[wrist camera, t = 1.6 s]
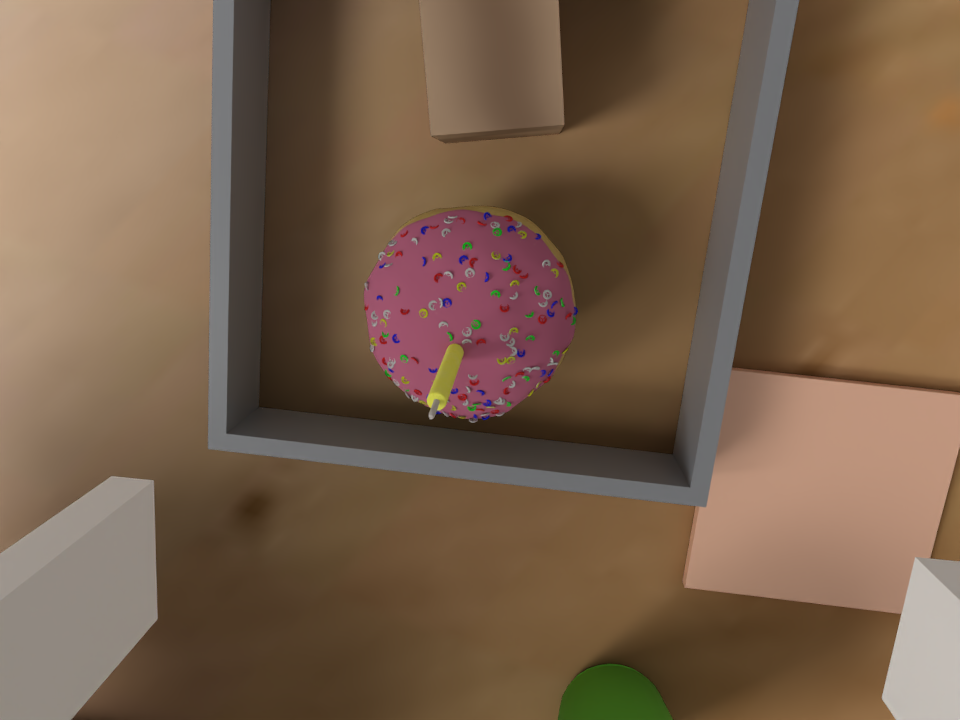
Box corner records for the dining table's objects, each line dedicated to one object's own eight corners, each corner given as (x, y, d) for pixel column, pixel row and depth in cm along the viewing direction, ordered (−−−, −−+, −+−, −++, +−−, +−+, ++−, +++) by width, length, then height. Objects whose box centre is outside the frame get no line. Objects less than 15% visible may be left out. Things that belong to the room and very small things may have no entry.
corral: (242, 420, 36) (207, 449, 32) (253, -67, 31) (214, -103, 27) (686, 471, 35) (706, 507, 31) (772, -22, 30) (808, -53, 26)
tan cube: (445, 143, 33) (430, 135, 28) (435, 21, 32) (418, -9, 27) (559, 133, 32) (564, 124, 27) (552, 10, 31) (557, -23, 26)
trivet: (682, 581, 37) (684, 587, 36) (721, 366, 34) (724, 369, 33) (908, 608, 36) (914, 615, 36) (965, 392, 34) (972, 396, 33)
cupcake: (539, 407, 35) (544, 517, 23) (366, 359, 35) (285, 445, 23) (593, 229, 33) (627, 253, 21) (409, 179, 33) (343, 174, 21)
